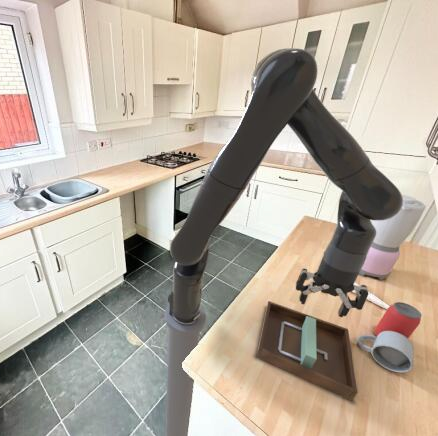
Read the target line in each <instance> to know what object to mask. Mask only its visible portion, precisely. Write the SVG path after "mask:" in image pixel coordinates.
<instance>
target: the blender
mask: <svg viewBox="0 0 438 436" xmlns="http://www.w3.org/2000/svg"><path fill="white" fill-rule="evenodd" d="M402 197H403V205H402V208H401V210H400V211H399V213H398V214H397V215H395V216H394V217H392V218H390V219H387V220H380V221H376V220H371V223H372V224H373V226H374V227H375V229H376V237H375V239H374V241H373V243H372V245H371V247H370V249H369V251H368V254H367V257H366V260H365V263H364V265H363V267H362V269H361V271H360V273H359V275H361V276H362V277H364V276H365V275H366V276H370V277H375V278H377V279H378V280H382V281H383V280H385V279H386V278H387V277H389V276H390V274H391V271H392V270H393V268H394V267H395V265H396V263H397V261H398V260H399V258H400V255H401V253H400V247H401V246H402V244H403V243H404V242H405V241H406V240H407V238H408V237H409V236H410V235H411V234H412V233H413V231H414V230H415V228H416V227H417V225H418V223H419V221H420V219H421V218H422V215H423V213H424V211H425V209H426V207H427V206H426V204H425V203H424V202H422V201H420V200H418V199H416V198H415V197H413V196H410V195H407V194H406V195H405V194H402Z"/></svg>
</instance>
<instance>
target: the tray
mask: <svg viewBox="0 0 438 436" xmlns="http://www.w3.org/2000/svg"><path fill="white" fill-rule="evenodd" d="M307 316H308V317H311V318H314V319H316V349H319V350H321V351H324V352H326V353H327V356H328V360H325V359H324V355H323V354H321V353H319V352H317V359H316V361H315V363H314V365H313V367H312V369H309V368H306V367H304V366H302V365H301V361H298V360H295V359H293V358H291V357H288V356H286V355H284V354H282V353H280V352H279V350H278V346H279V338H280V331H281V323H282V322H284V321H285V322H287V323H290V324H293V325H295V326H298V327H300V328H302V326H303V324H304V321H305V319H306V317H307ZM301 342H302V331H301V330H298V329H296V328H293V327H290V326H288V325H285V324H284V331H283V340H282V348H281V350H282V351H284V352H287V353H289V354H291V355H294V356H296V357H298V358H300V359H301ZM256 358H258V359H260V360H262V361H264V362H267V363H269V364H270V365H273V366H275V367H277V368H280V369H282V370H285V371H287V372H289V373H290V374H293V375H295V376H297V377H299V378H301V379H303V380H306V381H308V382H309V383H312V384H314V385H316V386H319V387H321V388H323V389H325V390H327V391H330V392H332V393H334V394H336V395H338V396H341V397H342V398H344V399H347V400H349V401H351V402H352V401H353V400H354V399H355V397H356V396H357V394H358V387H357V380H356V373H355V366H354V360H353V354H352V345H351V339H350V333H349V329H348V328H346V327H343V326H340V325H339V324H335V323H333V322H329V321H327V320H324V319H321V318H318V317H315V316H312V315H310V314H306V313H303V312H301V311H299V310H295V309H293V308H289V307H288V306H284V305H281V304H279V303H276V302H273V301H271V300H268V302H267V305H266V308H265V313H264V318H263V322H262V327H261V333H260V337H259V342H258V346H257V352H256Z"/></svg>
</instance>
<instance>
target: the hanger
mask: <svg viewBox="0 0 438 436" xmlns="http://www.w3.org/2000/svg"><path fill="white" fill-rule="evenodd" d="M284 324H285V325H288V326H290V327H293V328H296V329H298V330H301V331H302V342H301V359H300V358H298V357H296V356H294V355H291V354H289V353H287V352H284V351H282V350H281V348H282V340H283V331H284ZM278 350H279V352H280V353H282V354H284V355H286V356H288V357H291V358H293V359H295V360H298V361H301V365H302V366H304V367H306V368H309V369H312V367H313V365H314V363H315V361H316V359H317V352H319V353H321V354H323V355H324V359H325V360H328V356H327V353H326V352H324V351H321V350H319V349H316V319H314V318H311V317H308V316H307V317H306V319H305V321H304V324H303V326H302V328H300V327H298V326H295V325H293V324H290V323H287V322H285V321H284V322H282V323H281V331H280V338H279V346H278Z"/></svg>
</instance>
